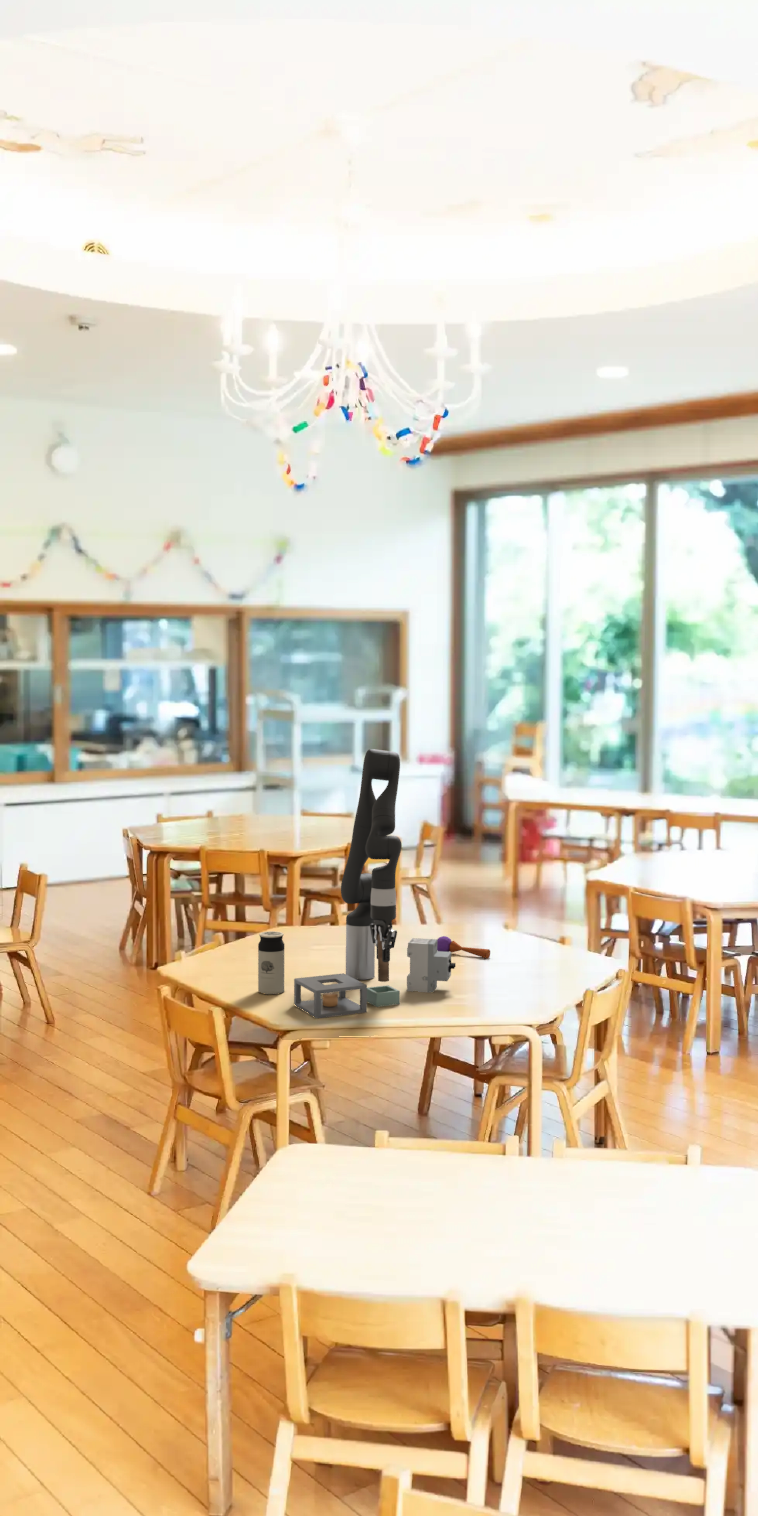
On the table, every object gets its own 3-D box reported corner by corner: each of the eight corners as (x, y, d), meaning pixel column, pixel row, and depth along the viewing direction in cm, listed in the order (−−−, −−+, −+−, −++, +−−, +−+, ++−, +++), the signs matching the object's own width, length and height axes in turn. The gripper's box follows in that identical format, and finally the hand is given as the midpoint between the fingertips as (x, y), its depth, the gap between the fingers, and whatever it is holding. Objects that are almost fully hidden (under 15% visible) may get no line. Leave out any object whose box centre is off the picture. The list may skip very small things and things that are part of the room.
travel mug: (268, 987, 422) (268, 930, 420) (289, 990, 418) (289, 932, 416) (253, 992, 415) (253, 934, 414) (274, 996, 411) (274, 937, 410)
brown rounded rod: (376, 979, 404) (376, 933, 403) (385, 978, 406) (385, 932, 405) (381, 982, 401) (380, 935, 400) (390, 981, 403) (390, 934, 402)
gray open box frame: (294, 1005, 400) (294, 978, 400) (343, 999, 407) (343, 973, 407) (316, 1018, 386) (316, 990, 385) (366, 1012, 393) (367, 985, 392)
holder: (365, 1001, 406) (365, 987, 406) (388, 998, 409) (388, 985, 409) (376, 1006, 399) (376, 993, 399) (399, 1004, 402) (399, 990, 402)
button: (320, 1003, 397) (320, 993, 397) (333, 1002, 399) (333, 992, 399) (326, 1007, 394) (326, 997, 393) (340, 1005, 396) (340, 995, 395)
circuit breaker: (452, 993, 415) (453, 945, 414) (406, 991, 418) (407, 942, 417) (456, 987, 423) (456, 940, 422) (411, 985, 426) (411, 938, 425)
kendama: (484, 949, 461) (432, 938, 471) (484, 965, 463) (432, 954, 473) (492, 943, 466) (440, 932, 476) (492, 959, 468) (440, 948, 478)
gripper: (405, 905, 397) (405, 964, 399) (384, 898, 410) (383, 954, 411) (382, 907, 394) (382, 966, 395) (361, 900, 407) (361, 957, 408)
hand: (383, 960), depth 403 cm, fingers closed on brown rounded rod, 3 cm apart
